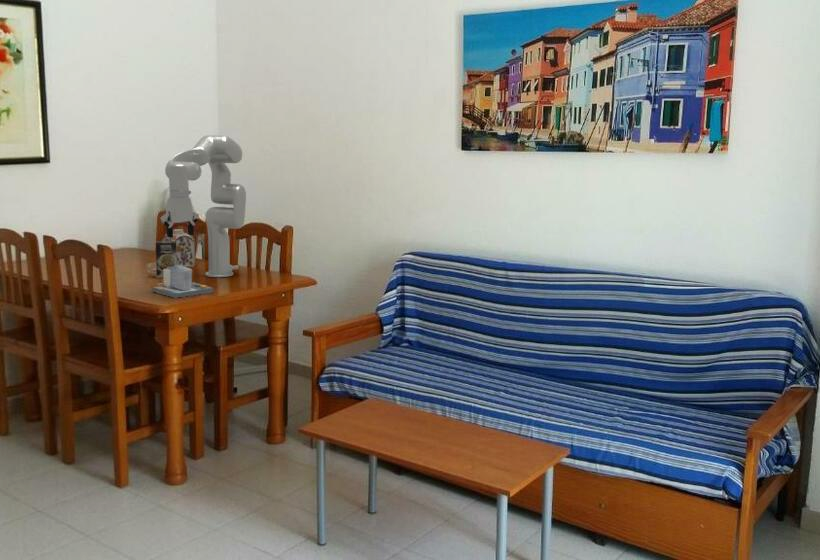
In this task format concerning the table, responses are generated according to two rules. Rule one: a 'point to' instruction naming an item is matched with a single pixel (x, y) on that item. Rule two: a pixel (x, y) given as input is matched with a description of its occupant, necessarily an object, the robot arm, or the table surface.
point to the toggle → (167, 276)
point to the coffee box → (165, 256)
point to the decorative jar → (183, 247)
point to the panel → (176, 293)
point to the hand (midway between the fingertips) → (180, 236)
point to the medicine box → (181, 277)
